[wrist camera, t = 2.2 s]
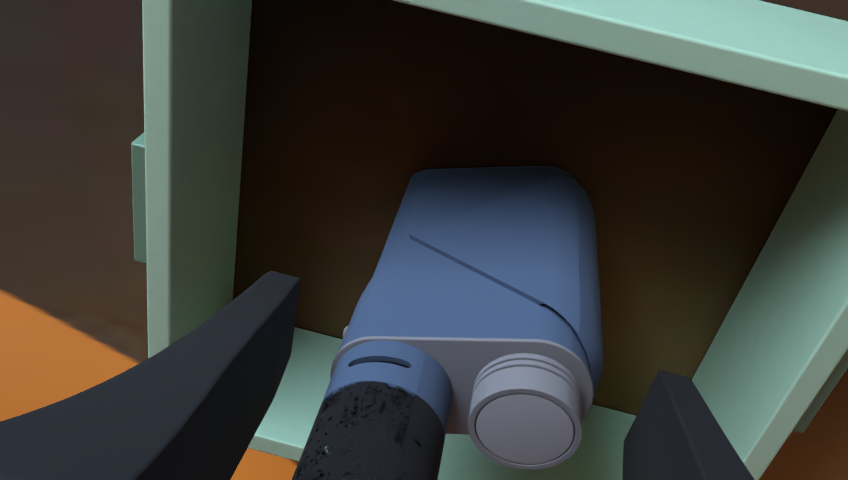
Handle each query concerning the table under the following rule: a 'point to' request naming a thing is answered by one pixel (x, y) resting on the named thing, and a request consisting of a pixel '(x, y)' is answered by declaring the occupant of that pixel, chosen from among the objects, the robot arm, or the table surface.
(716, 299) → the table surface
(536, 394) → the vaping device
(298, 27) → the table surface
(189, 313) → the storage box
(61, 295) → the table surface
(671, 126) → the table surface
